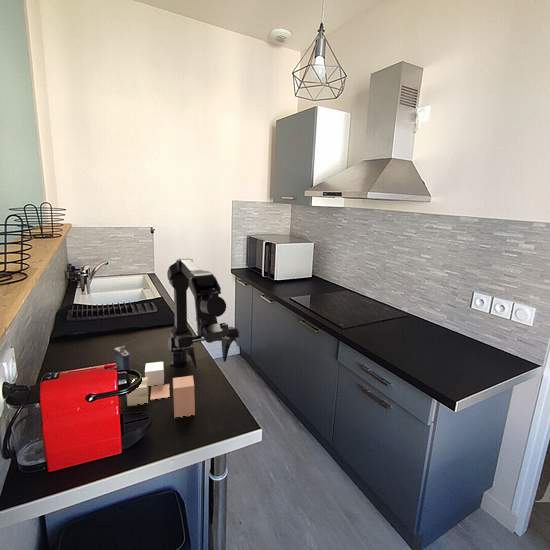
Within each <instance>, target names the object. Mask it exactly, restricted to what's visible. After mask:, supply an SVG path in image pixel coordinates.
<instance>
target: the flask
mask: <svg viewBox="0 0 550 550" xmlns="http://www.w3.org/2000/svg"><path fill="white" fill-rule="evenodd" d="M125 347H126V346H125V345H123V346H119V347H118V346H117V347H115V348H114V349H113V351H114V360H115V365H116V364H117V366H118V369H121V370H130V371H131V362H130V361H131V360H130V353H129V352H128V351H127V350H126V348H125Z"/></svg>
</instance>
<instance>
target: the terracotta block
mask: <svg viewBox="0 0 550 550" xmlns="http://www.w3.org/2000/svg"><path fill="white" fill-rule="evenodd" d="M172 389H173V390H172V391H173V414H174V417H173V418H174V419H176V418H175V417H180V418H184V417H183V416H186V417H192V416H191V415H193V416H196V413H195V412H196V407H195V404H196V403H195V382H194V375H187V376H180V377H179V376H178V377H172Z"/></svg>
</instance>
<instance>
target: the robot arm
mask: <svg viewBox="0 0 550 550" xmlns="http://www.w3.org/2000/svg"><path fill="white" fill-rule="evenodd" d="M166 273H167V280H168V283H169V284H170V286H171V287H172V289H173V300H174V301H173V305H174V307H173V308H174V326H173V327H172V329H171V330H170V337H169V338H168V340H167V349H168V350H169V352H170V353H172V360H171V362H169V366H175V367H183V368H184V367H186V366H187V365H188V364H189V362H191V364H192V366H193V368H194V369H197V360H196V353H195V346H193V344H194V343H199V342H204V341H205V342H206V343H209V344H211V343H214V342H221V353H222V354H221V355H222V359H223V360H222V361H223V362H225V363H226V362H227V357H228V354H229V350H230V348H231V345H232V343H234V341H236V339H237V338H240V330H239V329H238V328H237V327H234V326H229V324H228V322H220V323H218V319H217V318H218V317H221V316H223V315H224V314H225V312H226V311H227V310H226V309H227V302H226V301H225V300H224V298H222V297H221V296H219V295H220V294H222V291H221V289H222V288H221V286H220V284H219V282H218V279H217V277H216V275H214V274H213V273H212V272H211V271H208V270H203V269H201V268H200V267H199V266H198V265H197V264H196V263H195V262H194V260H193V258H190V257H186V258H177V259H176V261H175V262H174V263H173V264H171V265H170V266H169V267H168V270H167V272H166ZM188 289H190V292H191V293H192V295H193V300H194V306H195V321H196V329H197V330H196V335H193V333H192V332H191V330H190V329H189V327H188V306H187V305H188V304H187V303H188V300H187V299H188V298H187V297H188V296H187V293H188V292H187V291H188Z"/></svg>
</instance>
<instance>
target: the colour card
mask: <svg viewBox="0 0 550 550" xmlns="http://www.w3.org/2000/svg"><path fill="white" fill-rule="evenodd" d="M169 388H170V383H166V384H165V383H164V385H157V386H151V387H150V395H149V396H150V400H151V401H156V400H155V399H158V400H162V399H161V398H165V399H169V398H168V397H171V396H170V394H171V393H170V390H171V389H169Z"/></svg>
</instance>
